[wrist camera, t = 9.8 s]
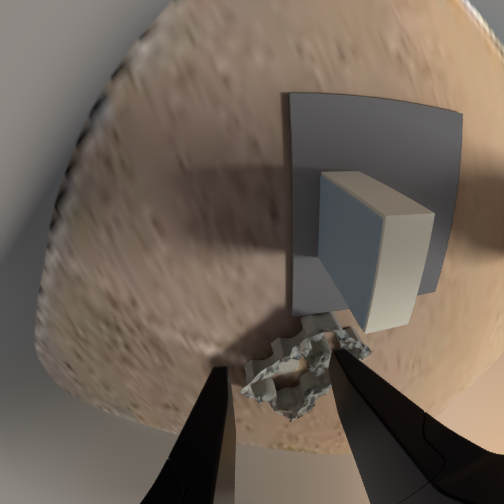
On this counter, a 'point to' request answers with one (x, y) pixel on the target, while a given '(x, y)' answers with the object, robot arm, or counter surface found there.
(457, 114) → the mat
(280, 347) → the egg carton
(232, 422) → the robot arm
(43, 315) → the counter surface
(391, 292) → the card box
